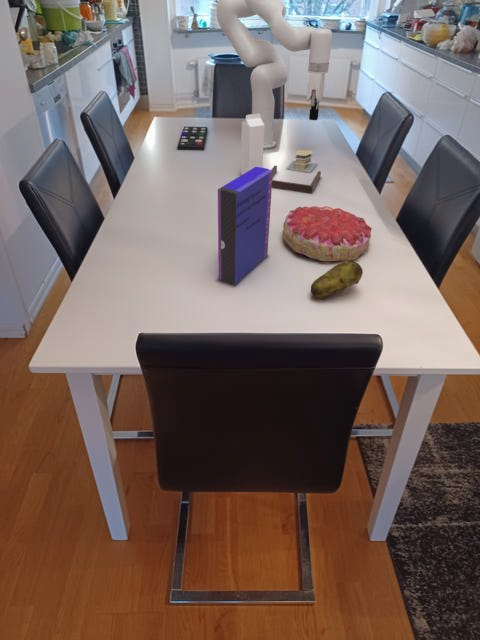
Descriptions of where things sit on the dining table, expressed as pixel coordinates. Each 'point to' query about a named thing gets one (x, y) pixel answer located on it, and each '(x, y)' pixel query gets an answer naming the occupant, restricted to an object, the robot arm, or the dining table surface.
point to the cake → (326, 233)
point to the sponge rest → (295, 184)
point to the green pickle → (337, 279)
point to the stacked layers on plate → (302, 161)
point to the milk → (252, 143)
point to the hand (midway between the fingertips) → (313, 119)
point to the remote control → (193, 138)
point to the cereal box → (243, 224)
